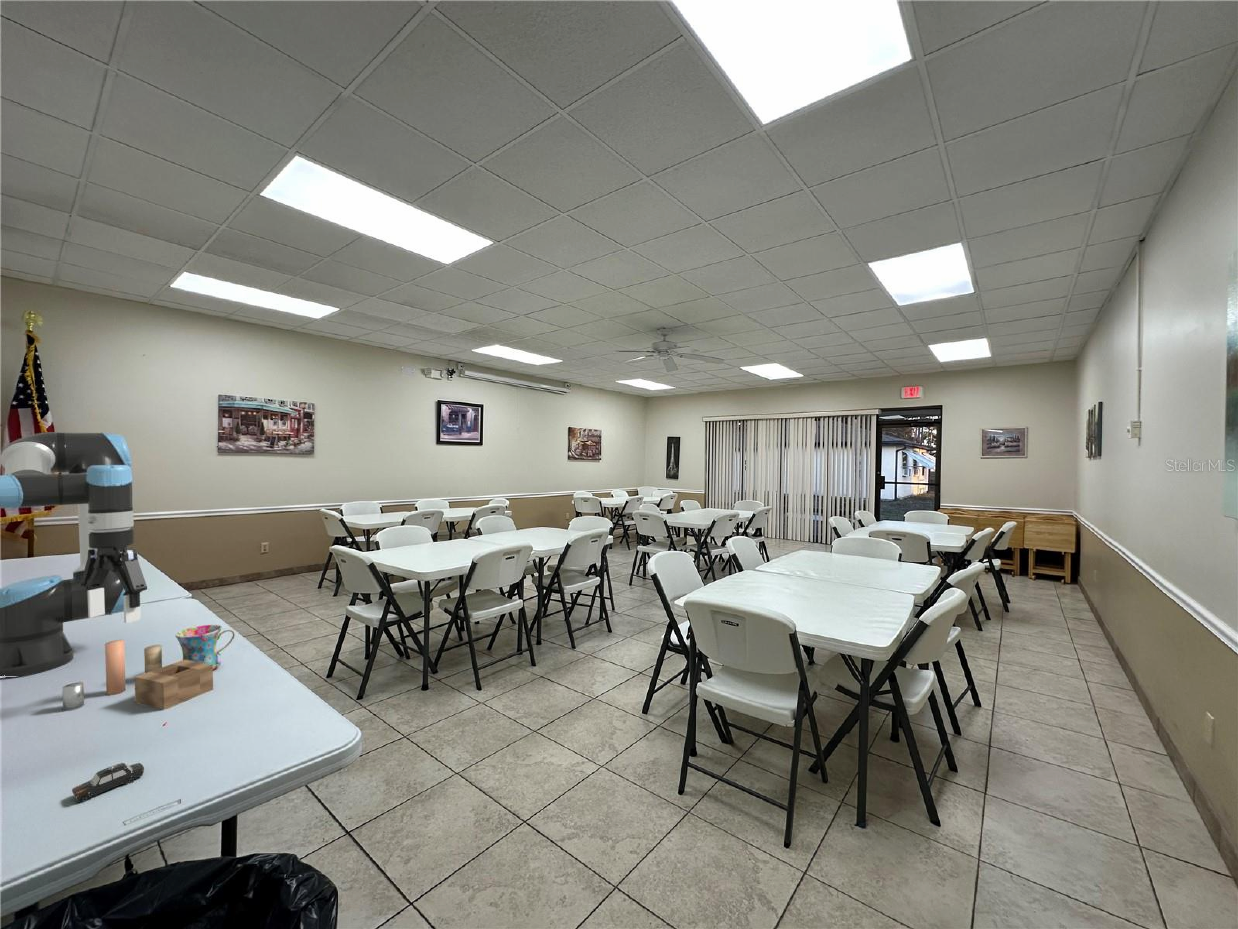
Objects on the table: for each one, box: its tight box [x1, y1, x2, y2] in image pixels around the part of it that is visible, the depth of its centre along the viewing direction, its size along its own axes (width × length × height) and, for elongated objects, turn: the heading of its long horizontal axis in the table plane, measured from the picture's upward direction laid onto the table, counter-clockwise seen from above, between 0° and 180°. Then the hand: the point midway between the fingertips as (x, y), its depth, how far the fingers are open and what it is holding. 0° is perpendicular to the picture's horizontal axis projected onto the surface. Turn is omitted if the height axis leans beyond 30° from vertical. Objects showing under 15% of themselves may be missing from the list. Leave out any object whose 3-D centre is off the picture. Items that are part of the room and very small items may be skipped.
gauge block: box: [134, 659, 214, 710], centre depth 117 cm, size 10×10×6 cm
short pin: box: [61, 681, 85, 712], centre depth 112 cm, size 3×3×5 cm
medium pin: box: [143, 644, 163, 674], centre depth 126 cm, size 3×3×8 cm
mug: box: [175, 624, 236, 670], centre depth 131 cm, size 12×9×11 cm
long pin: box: [104, 639, 126, 696], centre depth 119 cm, size 3×3×12 cm
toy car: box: [71, 721, 168, 803], centre depth 86 cm, size 4×12×8 cm, turn 146°
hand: (114, 618), depth 119 cm, fingers open, 13 cm apart
